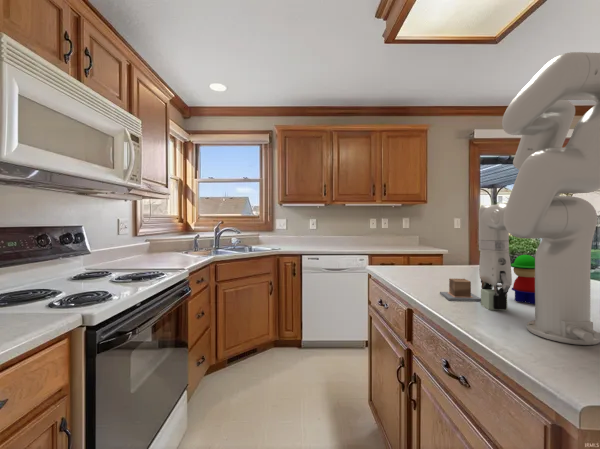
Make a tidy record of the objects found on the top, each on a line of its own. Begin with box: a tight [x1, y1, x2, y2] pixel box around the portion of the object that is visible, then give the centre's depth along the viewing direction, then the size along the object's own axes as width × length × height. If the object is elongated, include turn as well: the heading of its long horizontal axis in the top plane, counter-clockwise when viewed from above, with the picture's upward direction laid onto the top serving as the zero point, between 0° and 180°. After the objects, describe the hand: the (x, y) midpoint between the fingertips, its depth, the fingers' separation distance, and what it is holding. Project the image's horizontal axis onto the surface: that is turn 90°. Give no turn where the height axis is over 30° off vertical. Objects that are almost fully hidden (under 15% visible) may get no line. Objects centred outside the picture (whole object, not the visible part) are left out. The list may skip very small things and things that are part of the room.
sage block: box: [480, 288, 508, 311], centre depth 90 cm, size 5×5×5 cm
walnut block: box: [448, 277, 472, 297], centre depth 101 cm, size 5×5×5 cm
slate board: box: [439, 291, 481, 302], centre depth 101 cm, size 9×10×1 cm
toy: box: [511, 254, 535, 305], centre depth 96 cm, size 9×9×15 cm
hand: (493, 305), depth 90 cm, fingers open, 6 cm apart
